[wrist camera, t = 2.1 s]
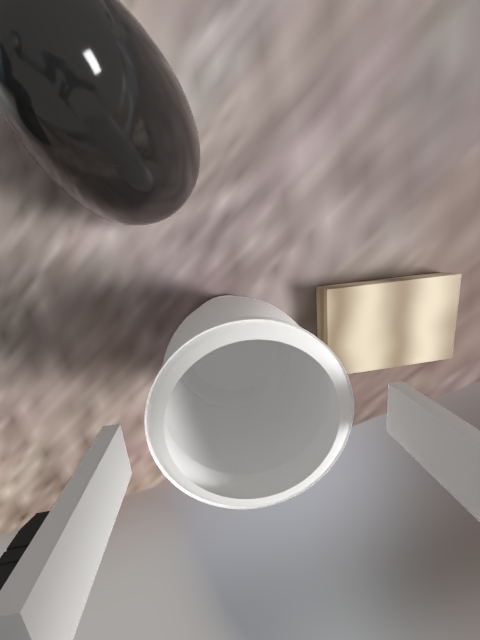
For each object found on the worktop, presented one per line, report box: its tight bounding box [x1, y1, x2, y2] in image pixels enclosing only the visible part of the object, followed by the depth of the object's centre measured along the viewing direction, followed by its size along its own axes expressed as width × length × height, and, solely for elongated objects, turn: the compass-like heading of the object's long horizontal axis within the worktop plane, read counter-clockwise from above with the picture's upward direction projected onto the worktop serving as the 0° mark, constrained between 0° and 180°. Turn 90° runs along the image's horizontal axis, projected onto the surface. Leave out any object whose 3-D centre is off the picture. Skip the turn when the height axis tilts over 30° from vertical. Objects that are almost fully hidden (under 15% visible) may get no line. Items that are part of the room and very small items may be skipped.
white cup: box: [145, 295, 354, 509], centre depth 20 cm, size 11×10×15 cm
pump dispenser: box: [0, 0, 200, 225], centre depth 15 cm, size 10×10×15 cm
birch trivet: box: [316, 272, 461, 374], centre depth 28 cm, size 14×9×2 cm, turn 96°
